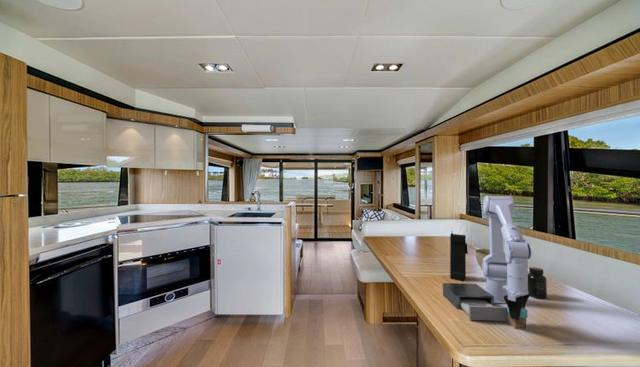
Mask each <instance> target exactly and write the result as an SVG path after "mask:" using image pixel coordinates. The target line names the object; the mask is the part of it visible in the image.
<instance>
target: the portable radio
mask: <svg viewBox="0 0 640 367" xmlns="http://www.w3.org/2000/svg"><path fill="white" fill-rule="evenodd" d="M449 237H450V240H449V241H450V244H449V245H450V249H449V250H450V251H449V252H450V253H449V267H450V268H449V270H450V271H449V272H450V273H449V274H450V276H449V278H450V279H452V280H457V281H460V282H461V281H462V282H465V281H466V278H467V277H466V274H467V273H466V272H467V271H466V268H467V267H466V266H467V262H466V261H467V260H466V259H467V258H466V255H468V253H469V252H468V243H467V239H466V238H467V236H466V235H465V234H459V233H458V234H457V233H453V232H451V233H450V235H449Z"/></svg>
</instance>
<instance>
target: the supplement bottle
mask: <svg viewBox="0 0 640 367" xmlns="http://www.w3.org/2000/svg"><path fill="white" fill-rule="evenodd" d="M528 272H529V273H528V293H529V294H530V297H531V298H534V299H539V300H545V299H547V297H548V286H547V285H548V284H547V282H548V281H547V277H546V276H545V275H544V269H543V268H541V267H534V266H532V267H531V266H530V267H528Z"/></svg>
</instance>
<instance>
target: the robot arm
mask: <svg viewBox="0 0 640 367" xmlns="http://www.w3.org/2000/svg"><path fill="white" fill-rule="evenodd" d="M482 204H483V205H482V207H483V208H482V210H483V215H485V216H487V217H488V233H489V234H488V236H489V237H488V238H489V250H490V254H489V255H487V256H486V257H484V258H483V263H482V270H481V272H482V274H483V277H486V291H487V292H488V293H490V294H491V295H493V296H494V304H506V305H507V306H508V309H509V313H510V317H511V318H512V319H515V320H519V318H520V313H521V308H522V307H523V308H525V309H526V304H527V302H528V300H529V298H530V297H531V296H530V294H529V293H528V274H529V273H528V272H529V266H528V265H529V263H528V262H529V260H530V259H531V257H532V248H531V244H530V243H529V241H527V239H524V237H523V235H522V231H521V229H520V227H519V226H518V225H517V224H515V223H514V222H515V221H514V218H513V215H512V213H513V210H514V208H515V200H514V198H513V197H512V196H511V195H508V196H505V195H502V196H501V195H499V196H498V195H485V196H484V197H483V201H482ZM503 241H504V242H503ZM503 243H504V244H503ZM503 252H505V257H504V256H503ZM494 262H501V263H494ZM507 306H506V307H507Z"/></svg>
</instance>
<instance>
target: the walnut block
mask: <svg viewBox="0 0 640 367" xmlns="http://www.w3.org/2000/svg"><path fill="white" fill-rule="evenodd" d="M507 323H508V325H510V326H511V327H513V328H514V329H515V330H517V329H518V330H522V329H523V330H527V318H519V320H515V319H512V318H511V317H510V314H508V321H507Z"/></svg>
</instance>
